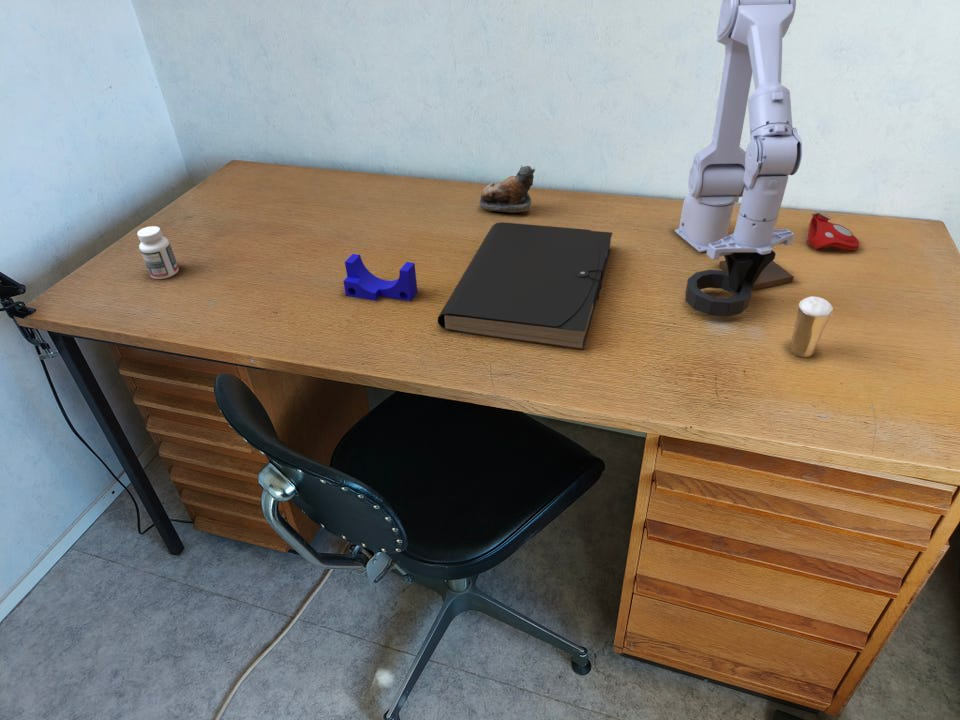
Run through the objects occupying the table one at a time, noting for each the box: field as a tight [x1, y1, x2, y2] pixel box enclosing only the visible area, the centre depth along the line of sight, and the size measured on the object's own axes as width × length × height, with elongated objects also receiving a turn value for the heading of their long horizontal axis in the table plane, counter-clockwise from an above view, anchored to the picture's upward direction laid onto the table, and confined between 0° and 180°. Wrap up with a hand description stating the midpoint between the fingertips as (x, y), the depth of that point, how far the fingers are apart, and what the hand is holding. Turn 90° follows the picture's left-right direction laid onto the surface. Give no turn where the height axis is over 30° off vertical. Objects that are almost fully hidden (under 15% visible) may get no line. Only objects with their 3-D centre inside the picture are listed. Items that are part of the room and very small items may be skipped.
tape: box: [684, 269, 753, 318], centre depth 110 cm, size 10×10×3 cm
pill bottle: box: [136, 225, 180, 280], centre depth 123 cm, size 5×5×9 cm
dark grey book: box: [437, 221, 613, 350], centre depth 117 cm, size 33×4×24 cm
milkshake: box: [789, 295, 839, 358], centre depth 98 cm, size 5×5×10 cm
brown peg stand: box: [718, 259, 794, 292], centre depth 117 cm, size 9×9×7 cm
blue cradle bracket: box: [342, 253, 419, 302], centre depth 116 cm, size 12×4×6 cm, turn 71°
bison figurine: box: [478, 165, 536, 213], centre depth 139 cm, size 12×7×10 cm, turn 74°
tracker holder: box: [806, 210, 860, 251], centre depth 127 cm, size 12×4×10 cm
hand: (739, 287), depth 110 cm, fingers closed on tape
